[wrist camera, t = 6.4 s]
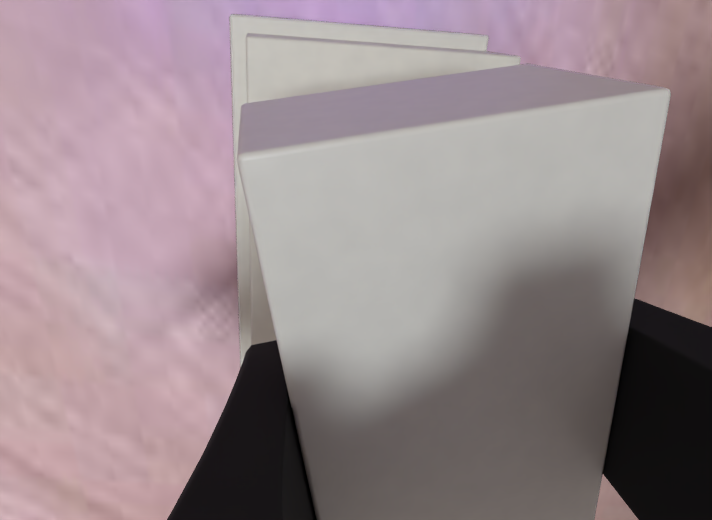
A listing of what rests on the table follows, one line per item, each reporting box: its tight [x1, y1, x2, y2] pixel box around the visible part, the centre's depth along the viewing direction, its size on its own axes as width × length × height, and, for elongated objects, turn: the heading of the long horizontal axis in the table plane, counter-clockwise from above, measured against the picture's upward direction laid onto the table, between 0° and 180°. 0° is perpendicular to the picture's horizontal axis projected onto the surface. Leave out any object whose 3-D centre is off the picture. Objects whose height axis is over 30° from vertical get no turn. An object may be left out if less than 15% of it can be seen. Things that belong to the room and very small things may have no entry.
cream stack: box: [229, 14, 520, 368], centre depth 15 cm, size 7×11×4 cm, turn 176°
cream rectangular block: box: [237, 64, 671, 520], centre depth 8 cm, size 4×9×3 cm, turn 6°
